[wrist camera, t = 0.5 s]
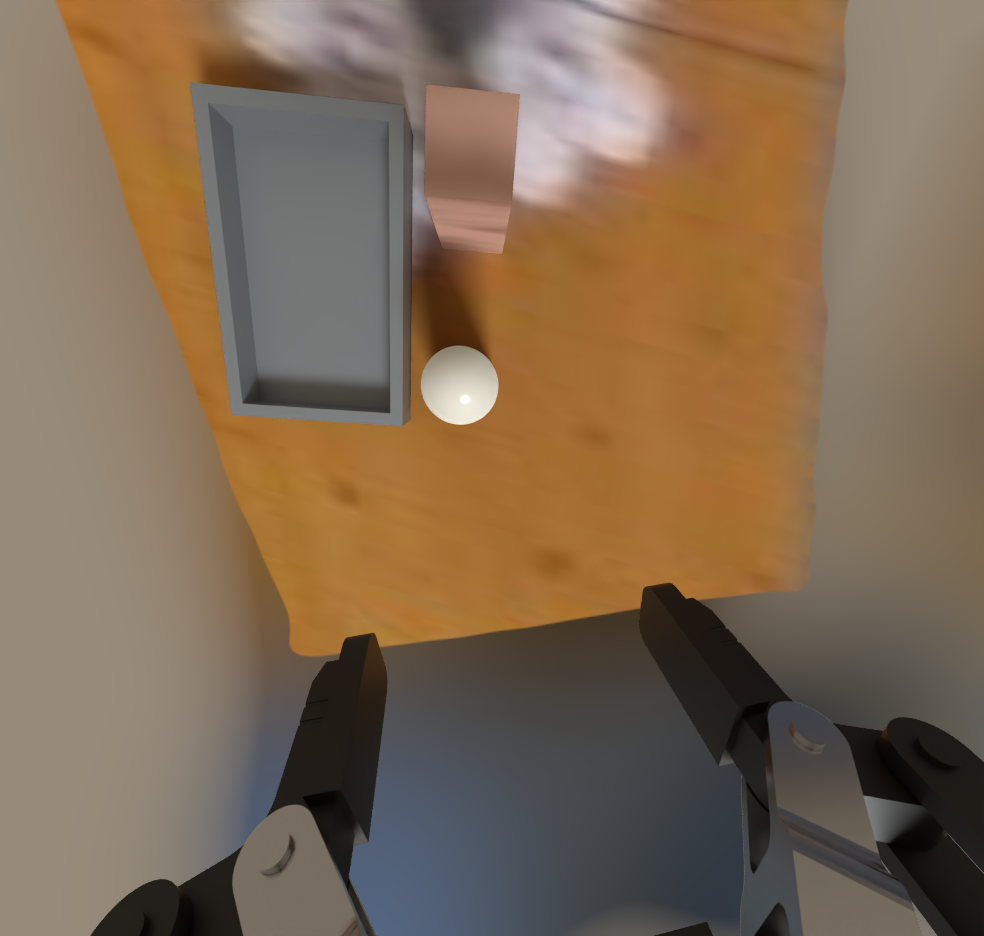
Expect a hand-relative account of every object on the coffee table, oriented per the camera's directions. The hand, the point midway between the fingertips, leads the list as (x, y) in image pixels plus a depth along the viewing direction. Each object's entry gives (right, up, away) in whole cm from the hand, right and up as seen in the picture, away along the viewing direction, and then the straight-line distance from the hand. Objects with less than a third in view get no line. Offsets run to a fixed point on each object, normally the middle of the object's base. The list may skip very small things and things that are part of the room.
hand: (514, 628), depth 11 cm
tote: (-15, +20, +20) cm, 32 cm away
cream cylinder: (-3, +13, +22) cm, 26 cm away
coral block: (-2, +25, +19) cm, 32 cm away
